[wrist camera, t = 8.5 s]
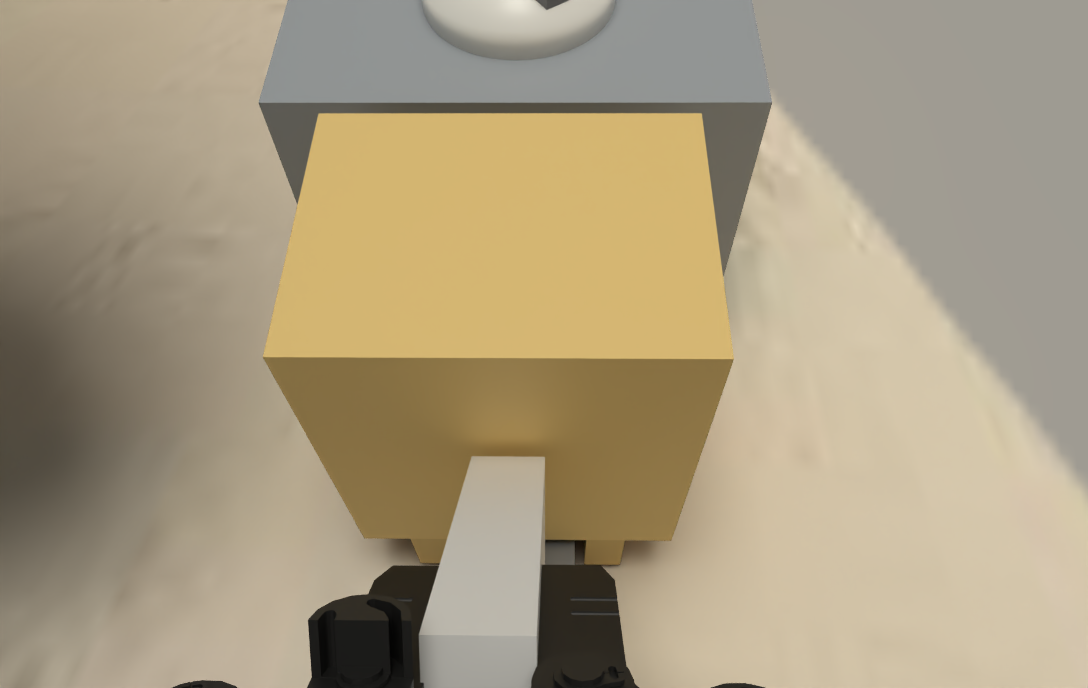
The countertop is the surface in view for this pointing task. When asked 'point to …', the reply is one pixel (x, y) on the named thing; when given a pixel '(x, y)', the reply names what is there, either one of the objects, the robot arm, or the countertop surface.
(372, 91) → the gauge cabinet
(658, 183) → the carriage
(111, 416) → the countertop surface
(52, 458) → the countertop surface
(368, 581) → the countertop surface
